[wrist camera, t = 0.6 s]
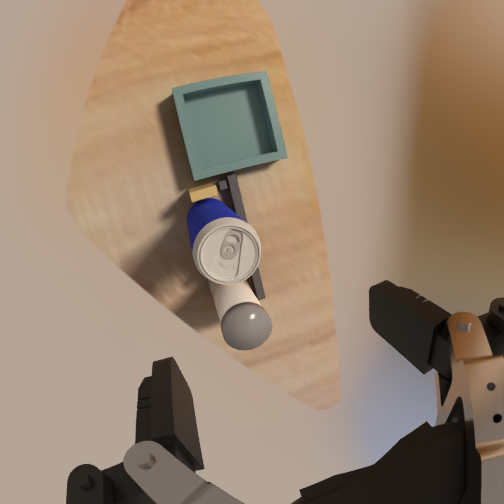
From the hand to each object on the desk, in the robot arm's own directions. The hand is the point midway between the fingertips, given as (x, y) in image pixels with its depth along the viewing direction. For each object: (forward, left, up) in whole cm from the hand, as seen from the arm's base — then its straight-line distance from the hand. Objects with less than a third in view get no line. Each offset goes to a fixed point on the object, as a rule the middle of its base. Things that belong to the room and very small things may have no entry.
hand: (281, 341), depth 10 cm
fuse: (+9, 0, -26) cm, 27 cm away
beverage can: (0, 0, -26) cm, 26 cm away
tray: (-10, +5, -26) cm, 28 cm away
